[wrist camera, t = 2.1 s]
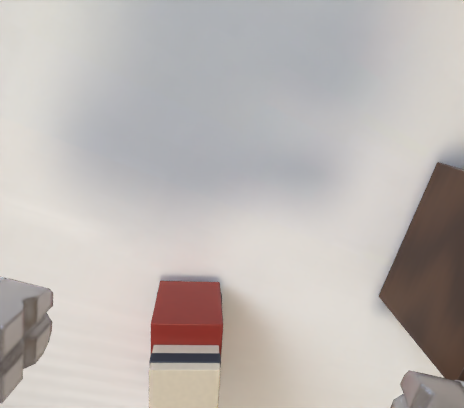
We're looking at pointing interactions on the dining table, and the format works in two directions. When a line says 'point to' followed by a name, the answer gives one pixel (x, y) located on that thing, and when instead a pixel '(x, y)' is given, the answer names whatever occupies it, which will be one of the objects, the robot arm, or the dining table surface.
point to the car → (186, 345)
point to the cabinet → (433, 274)
